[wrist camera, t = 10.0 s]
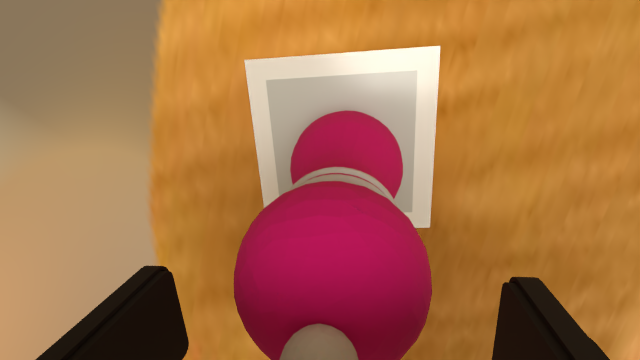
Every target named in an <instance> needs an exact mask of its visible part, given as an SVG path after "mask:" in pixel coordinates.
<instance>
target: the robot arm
mask: <svg viewBox="0 0 640 360" xmlns="http://www.w3.org/2000/svg"><path fill="white" fill-rule="evenodd" d="M188 345H189V342H188V337H187V332H186V328H185V324H184V320H183V316H182V312H181V307H180V303H179V299H178V295H177V291H176V287H175V282H174V278H173V275H172V273H171V272H169V271H168V269H167V268H166V267H164V266H144V267H143V268H141V269H140V270H139V271H138V272H137V273H135V274H134V275H133V276H132V277H131V278H130V279H128V280H127V281H126V282H125V283H124V284H123V285H122V286H120V287H119V288H118V289H117V290H116V291H115V292H113V293H112V294H111V295H110V296H109V297H108V298H106V299H105V300H104V301H103V302H102V303H101V304H99V305H98V306H97V307H96V308H95V309H94V310H92V311H91V312H90V313H89V314H88V315H87V316H86V317H85V318H83V319H82V320H81V321H80V322H79V323H77V325H75V326H74V327H73V328H72V329H71V330H69V331H68V332H67V333H66V334H65V335H64V336H62V337H61V338H60V339H59V340H58V341H57V342H56V343H54V344H53V345H52V346H51V347H50V348H49V349H47V350H46V351H45V352H44V353H43V354H42V355H40V356H39V357H38V358H37V359H36V360H182V359H183V358H184V356H185V354H186V353H187V350H188ZM492 360H610V359H609V358H608V357H607V356H606V355H605V353H604V352H603V351H602V350H601V349H600V347H599V346H598V345H597V344H596V343H595V342H594V341H593V340H592V339H591V338H589V337H588V336H587V335H586V334H585V333H584V331H583V330H582V329H581V328H580V327H579V325H578V324H577V323H576V322H575V321H574V319H573V318H572V317H571V316H570V315H569V313H568V312H567V311H566V310H565V309H564V307H563V306H562V305H561V304H560V303H559V301H558V300H557V299H556V298H555V297H554V295H553V294H552V293H551V292H550V291H549V290H548V288H547V287H546V286H545V285H544V284H543V282H542V281H541V280H540V279H539V278H534V277H512V278H511V279H510V281H509V283H508V282H505V283H504V284H503V286H502V291H501V298H500V306H499V313H498V320H497V327H496V334H495V341H494V348H493V356H492Z"/></svg>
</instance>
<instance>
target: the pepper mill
mask: <svg viewBox="0 0 640 360" xmlns="http://www.w3.org/2000/svg"><path fill="white" fill-rule="evenodd" d="M290 172H291V179H292V183H293V186H292V187H291V188H290V190H289V191H288V192H285V193H283V194H282V195H280V196H279V197H278V198H277V199H275V200H274V201H273V202H271V203H270V204H269V205H268V206H266V207H265V208H264V209H263V210H262V211H261V212H260V213H259V215H258V216H257V217H256V219H255V220H254V221H253V222H252V224H251V226H250V227H249V229H248V231H247V233H246V235H245V236H244V238H243V240H242V243H241V246H240V249H239V252H238V256H237V261H236V266H235V271H234V298H235V302H236V306H237V310H238V313H239V315H240V317H241V320H242V322H243V324H244V327H245V329H246V331H247V332H248V334H249V335H250V337H251V338H252V339H253V341H254V342H255V343H256V345H257V346H258V347H259V348H260V350H261V351H262V352H263V353H264V354H266V355H267V356H268V357H269V358H270V359H271V360H400V359H401V358H402V357H403V356H404V354H405V353H406V352H407V351H408V350H409V349H410V347H411V346H412V345H413V344H414V343H415V342H416V340H417V338H418V336H419V335H420V333H421V331H422V329H423V327H424V325H425V322H426V318H427V314H428V311H429V306H430V301H431V295H432V285H431V271H430V266H429V261H428V256H427V252H426V248H425V246H424V244H423V242H422V240H421V239H420V237H419V235H418V233H417V231H416V229H415V227H414V226H413V224H412V222H411V221H410V219H409V218H408V217H407V216H406V215H405V214H404V213H403V212H402V211H401V210H400V209H399V208H398V207H397V205H396V203H395V201H394V198H395V196H396V194H397V192H398V190H399V188H400V185H401V181H402V176H403V162H402V155H401V151H400V147H399V144H398V142H397V140H396V138H395V137H394V135H393V134H392V133H391V131H390V130H389V129H388V127H386V126H385V125H384V124H383V123H381V122H380V121H379V120H377V119H376V118H374V117H372V116H370V115H367V114H365V113H362V112H358V111H349V110H345V111H338V112H333V113H330V114H326V115H324V116H322V117H320V118H318V119H317V120H315V121H314V122H312V123H311V124H310V125H309V126H308V127H307V128H306V129H305V130H304V131H303V133H302V134H301V135H300V137H299V139H298V141H297V143H296V145H295V147H294V150H293V153H292V156H291V166H290Z"/></svg>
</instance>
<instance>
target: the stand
mask: <svg viewBox="0 0 640 360" xmlns="http://www.w3.org/2000/svg"><path fill="white" fill-rule="evenodd" d="M244 61H245V69H246V76H247V83H248V91H249V98H250V106H251V113H252V121H253V128H254V136H255V143H256V151H257V158H258V166H259V173H260V181H261V188H262V195H263V203H264V208H265V207H266V206H268V205H269V204H270V203H271V202H273V201H274V200H275V199H277V198H278V197H279V196H280V195H282V194H283V193H285V192H288V191H289V190H290V188H291V187H292V186H293V183H292V179H291V172H290V166H291V156H292V153H293V150H294V147H295V145H296V143H297V141H298V139H299V137H300V135H301V134H302V133H303V131H304V130H305V129H306V128H307V127H308V126H309V125H310V124H311V123H312V122H314V121H315V120H317V119H318V118H320V117H322V116H324V115H326V114H330V113H333V112H338V111H345V110H349V111H358V112H362V113H365V114H367V115H370V116H372V117H374V118H376V119H377V120H379V121H380V122H381V123H383V124H384V125H385V126H386V127H388V129H389V130H390V131H391V133H392V134H393V135H394V137H395V138H396V140H397V142H398V144H399V147H400V151H401V155H402V162H403V176H402V181H401V185H400V188H399V190H398V192H397V194H396V196H395V198H394V201H395V203H396V205H397V207H398V208H399V209H400V210H401V211H402V212H403V213H404V214H405V215H406V216H407V217H408V218H409V219H410V221H411V222H412V224H413V226H414V227H415V228H430V216H431V199H432V182H433V165H434V148H435V130H436V113H437V96H438V79H439V62H440V46H431V47H417V48H404V49H390V50H376V51H362V52H349V53H335V54H321V55H308V56H294V57H280V58H267V59H253V60H244Z"/></svg>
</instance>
